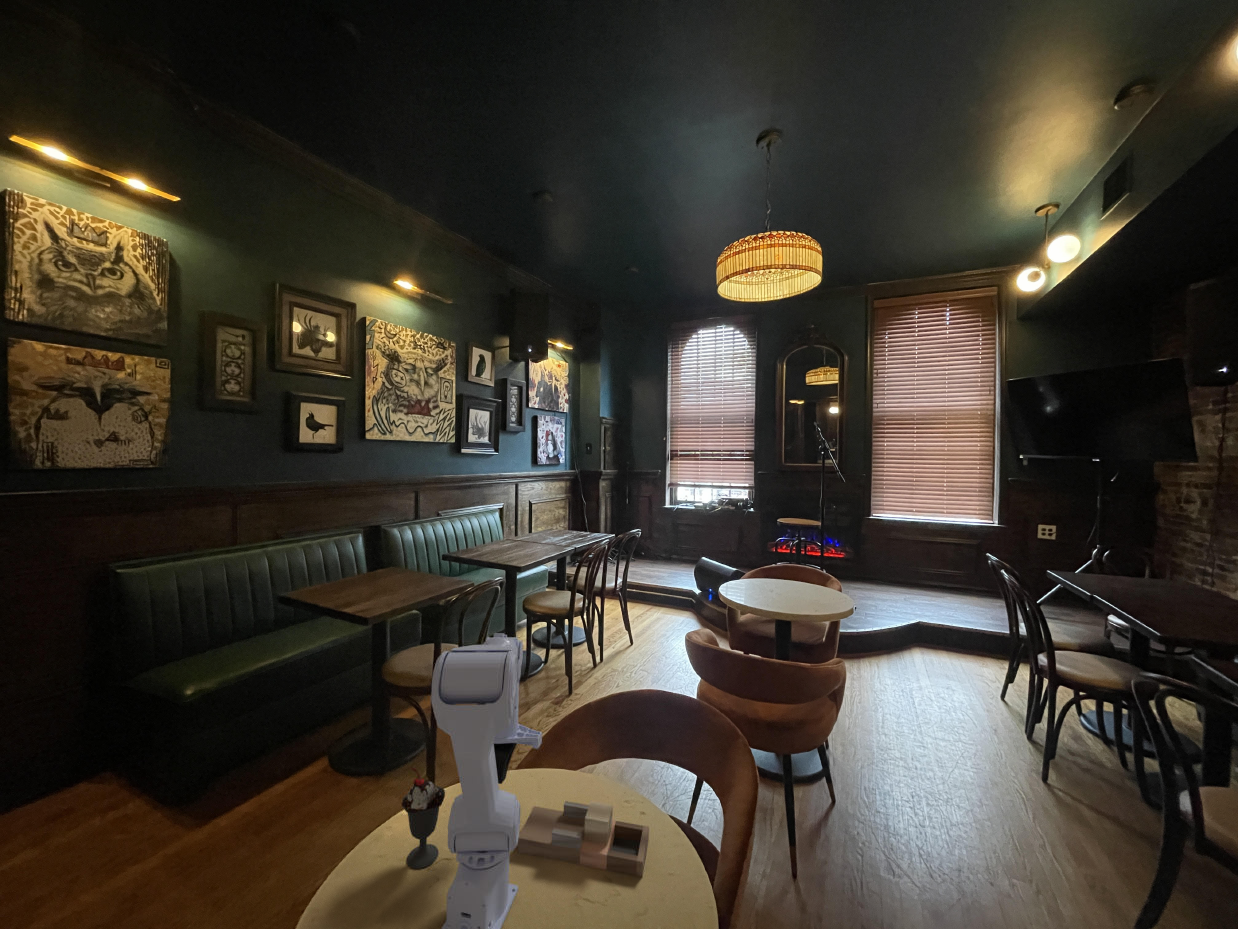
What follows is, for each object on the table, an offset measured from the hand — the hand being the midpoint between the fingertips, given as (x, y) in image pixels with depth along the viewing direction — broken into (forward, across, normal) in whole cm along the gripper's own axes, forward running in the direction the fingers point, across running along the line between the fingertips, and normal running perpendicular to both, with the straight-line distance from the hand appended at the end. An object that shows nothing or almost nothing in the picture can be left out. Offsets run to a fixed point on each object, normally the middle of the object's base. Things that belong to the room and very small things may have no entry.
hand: (500, 779), depth 87 cm
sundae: (+10, +10, +8) cm, 16 cm away
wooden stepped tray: (+9, -16, 0) cm, 18 cm away
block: (+7, -18, 0) cm, 19 cm away
